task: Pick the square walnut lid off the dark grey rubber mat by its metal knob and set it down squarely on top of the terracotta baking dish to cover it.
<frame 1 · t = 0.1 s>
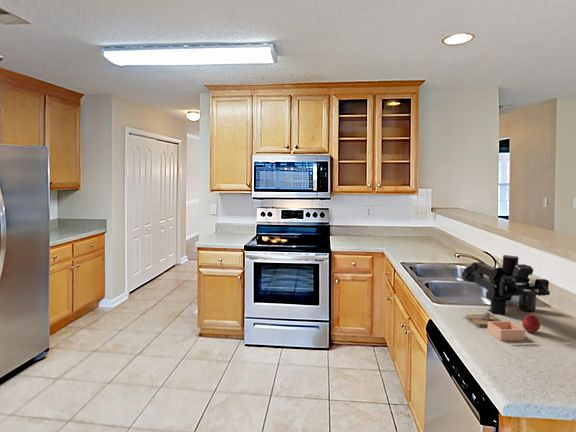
hand: (537, 293, 157), 17 cm above the worktop, tool horizontal, fingers open, 9 cm apart
supplement bottle: (526, 310, 189), on the worktop
rubber mat: (485, 323, 172), on the worktop
walnut lid: (485, 322, 172), point 1 cm above the worktop, touching rubber mat
terracotta dish: (505, 337, 158), on the worktop
onion: (530, 333, 162), on the worktop
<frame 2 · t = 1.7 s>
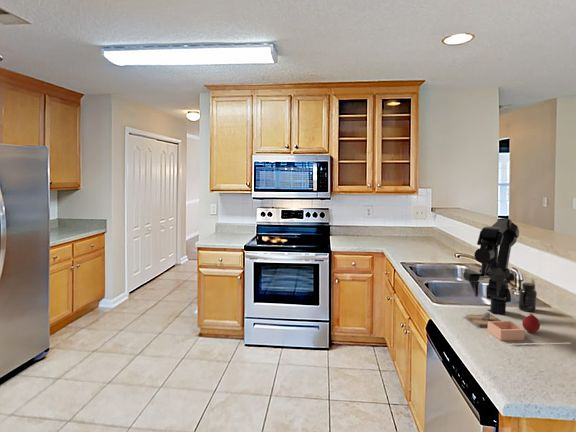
hand: (487, 296, 170), 11 cm above the worktop, tool pointing down, fingers open, 9 cm apart
nothing on the worktop moved.
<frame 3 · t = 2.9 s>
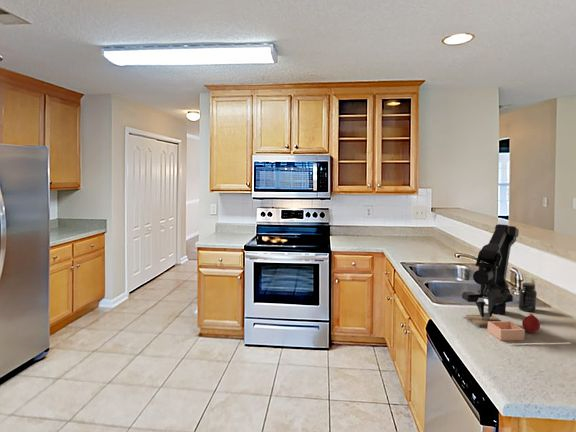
hand: (485, 316, 171), 3 cm above the worktop, tool pointing down, fingers closed on walnut lid, 3 cm apart
walnut lid: (485, 322, 172), point 1 cm above the worktop, touching gripper, rubber mat
everything else where it was.
when the fingers open (8 cm above the worktop, at t = 6.6 s): walnut lid drops 1 cm, resting on terracotta dish.
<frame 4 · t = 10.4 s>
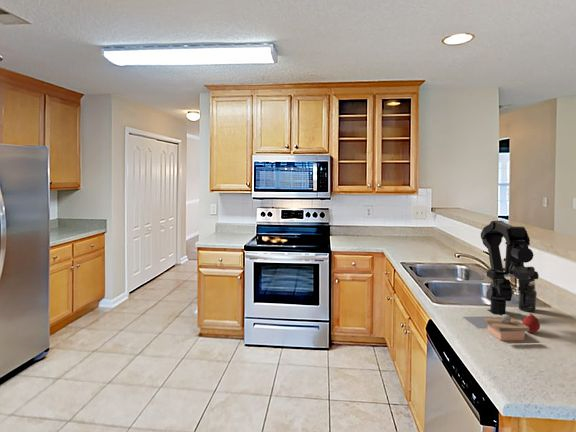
hand: (510, 294, 171), 12 cm above the worktop, tool pointing down, fingers open, 9 cm apart
walnut lid: (505, 325, 157), point 4 cm above the worktop, touching terracotta dish
everything else where it was.
at the end: walnut lid 0.0 cm from the target spot, point 4.5 cm above the worktop; walnut lid tilted 0°; the gripper is holding nothing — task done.
